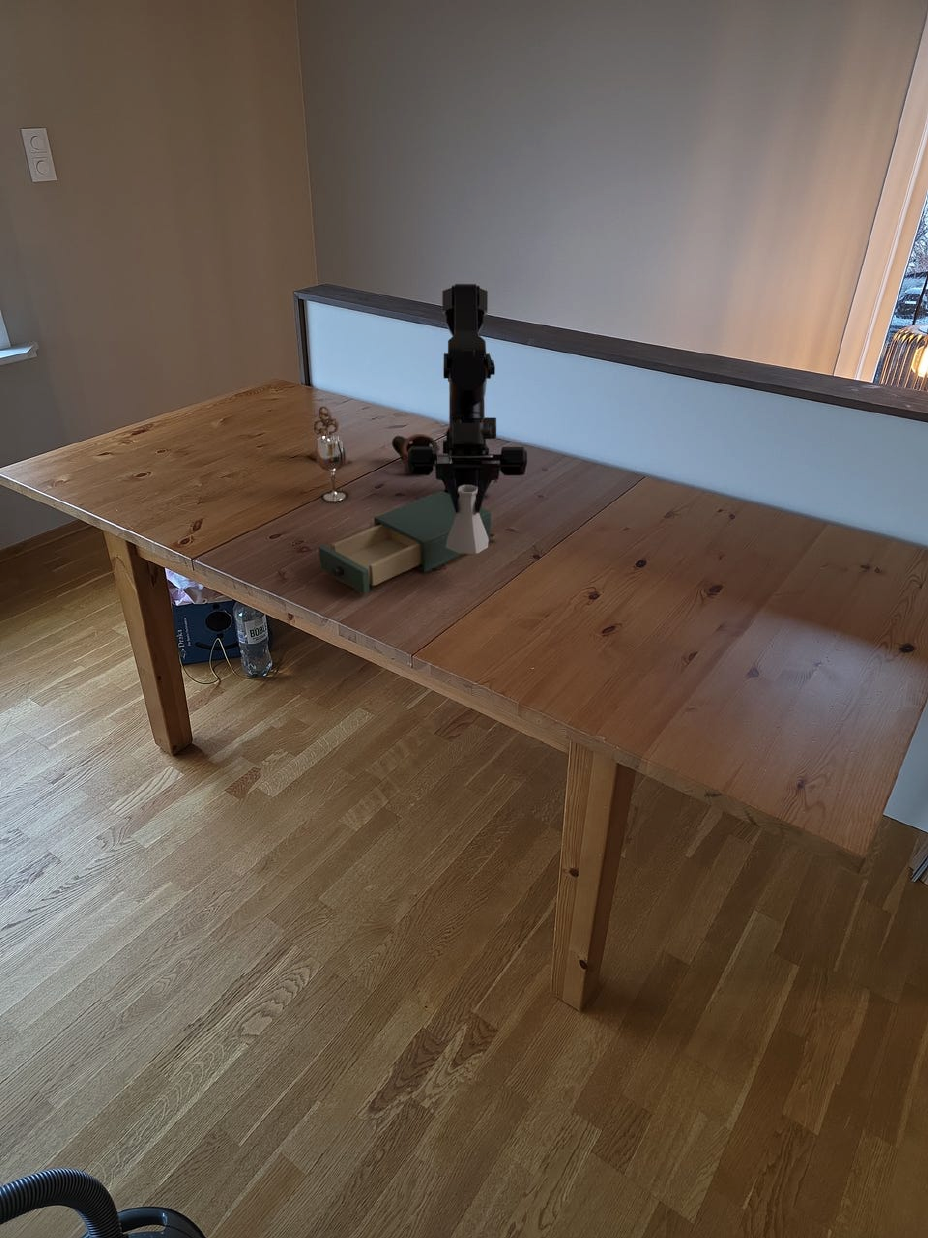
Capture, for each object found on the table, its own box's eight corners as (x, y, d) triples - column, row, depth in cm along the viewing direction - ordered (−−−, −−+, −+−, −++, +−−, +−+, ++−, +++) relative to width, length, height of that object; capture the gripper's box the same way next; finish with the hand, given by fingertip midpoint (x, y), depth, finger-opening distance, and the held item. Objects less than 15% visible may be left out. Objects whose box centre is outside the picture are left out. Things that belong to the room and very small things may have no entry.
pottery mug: (448, 463, 178) (448, 439, 170) (427, 494, 174) (426, 471, 167) (402, 441, 180) (400, 417, 173) (380, 471, 177) (377, 447, 169)
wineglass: (343, 504, 159) (338, 446, 152) (316, 501, 160) (310, 443, 153) (352, 492, 164) (348, 435, 157) (325, 489, 165) (320, 433, 158)
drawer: (358, 597, 128) (356, 574, 126) (314, 571, 135) (312, 549, 133) (433, 561, 138) (433, 540, 136) (389, 538, 145) (388, 518, 143)
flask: (495, 539, 133) (497, 483, 127) (479, 559, 127) (480, 501, 122) (455, 531, 135) (456, 475, 129) (437, 550, 129) (437, 493, 124)
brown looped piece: (309, 456, 179) (304, 404, 173) (323, 452, 182) (318, 399, 175) (334, 467, 174) (330, 413, 168) (348, 462, 176) (344, 409, 170)
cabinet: (424, 572, 137) (424, 542, 133) (375, 546, 144) (374, 517, 141) (490, 541, 146) (491, 511, 143) (441, 518, 154) (441, 490, 151)
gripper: (406, 396, 121) (405, 494, 118) (529, 397, 121) (531, 495, 118) (410, 427, 132) (409, 518, 129) (523, 428, 132) (524, 518, 129)
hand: (467, 512), depth 126 cm, fingers closed on flask, 3 cm apart
